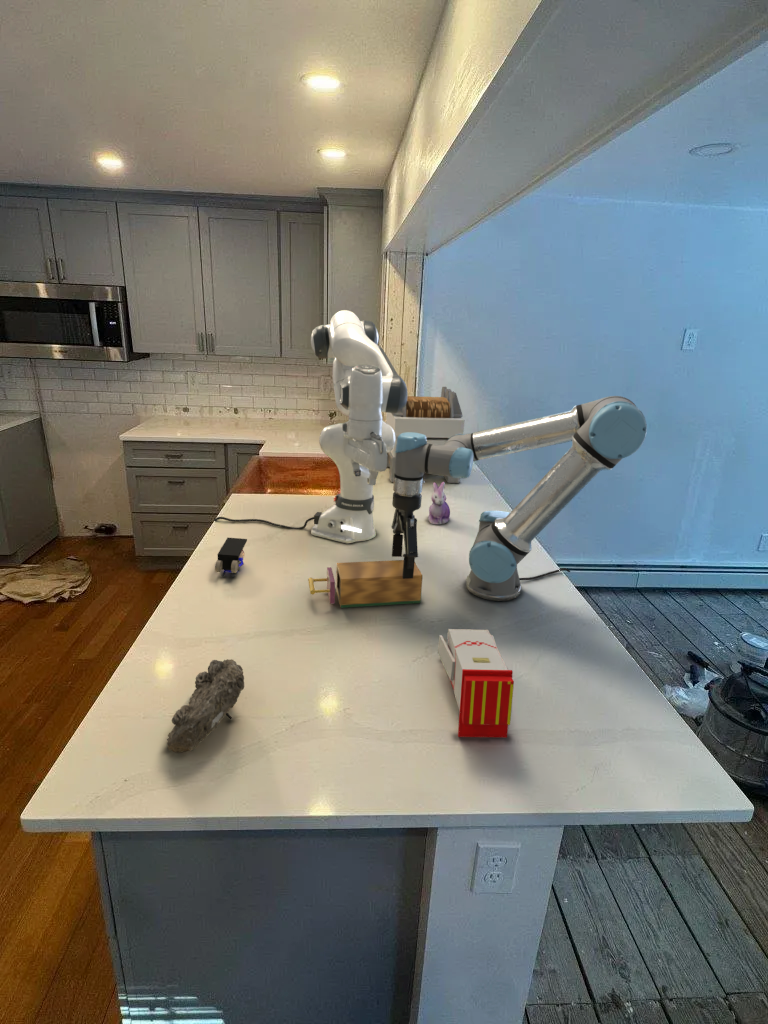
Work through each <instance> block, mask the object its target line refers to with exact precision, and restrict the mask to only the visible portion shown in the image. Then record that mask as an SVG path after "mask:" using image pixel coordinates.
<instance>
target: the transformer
mask: <svg viewBox="0 0 768 1024" xmlns="http://www.w3.org/2000/svg"><path fill="white" fill-rule="evenodd" d="M440 393H441V394H440V396H415V395H414V396H413V395H412V396H411V395H408V397H407V403H406V405H405V406H404V407H403V408H402V409H401V410H400V411H398V412H397V413H387V412H385V414H386V415H385V423H387V424H389V425H390V426H391V427H392V428H393V430H394V432H395V435H396V442H395V445H394V448H393V449H392V450H391V452H388V453H387V468H389V475H388V476H389V477H388V478H389V480H390V482H391V483H394V474H395V454H396V452H395V450H396V445H397V438H398V436H399V435H400V434H402V433H406V432H414V433H419V434H423V435H425V436H426V440H427V443H429V444H433V445H444V444H445V443H446V441H447V440H448V439H449V438H450V437H452V436H454V435H456V434H464V431H465V430H464V429H465V419H464V418H463V411H462V408H461V405H460V402H459V398H458V395H457V392H455V391H453V390H452V389H451V388H447V386H442V387H441V392H440ZM443 478H444V479H445V481H446V482H447V483H449V484H455V483H456V484H459V483H461V478H453V477H448V476H443Z"/></svg>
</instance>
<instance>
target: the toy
mask: <svg viewBox="0 0 768 1024" xmlns="http://www.w3.org/2000/svg"><path fill="white" fill-rule="evenodd" d="M446 640H447V643H446V641H445V639H444V636H443V635H442V634H439V637H438V646H437V656H438V657H439V659H440V661H441V663H442V666H443V668H444V670H445V672H446V674H447V677H448V679H449V681H450V684H451V687H452V690H453V693H454V697H455V701H456V705H457V708H458V711H459V714H458V715H459V716H458V730H457V731H458V732H457V737H458V738H508V731H509V726H510V725H511V717H512V707H513V697H514V696H513V695H514V684H515V680H514V679H513V673H514V671H513V670H512V669H508V667H507V665H506V662H505V661H504V659H503V658H502V655H501V653H500V651H499V649H498V647H497V643H496V639H495V637H494V635H493V634H491V632H490V631H489V629H467V628H466V629H465V628H463V629H461V628H460V629H459V628H448V630H447V639H446Z"/></svg>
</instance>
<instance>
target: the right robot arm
mask: <svg viewBox="0 0 768 1024" xmlns="http://www.w3.org/2000/svg"><path fill="white" fill-rule="evenodd" d="M647 427H648V426H647V420H646V417H645V415H644V413H643V412H642V410H640V408H638V406H637V405H636V404H635V403H634V402H633V401H632V400H631V399H629V398H627V397H624V396H621V395H610V396H606V397H601V398H599V399H596V400H592V401H588V402H584V403H581V404H577V405H574V406H573V408H572V409H570V410H568V411H564V412H559V413H555V414H550V415H546V416H542V417H537V418H533V419H528V420H523V421H520V422H514V423H511V424H506V425H501V426H497V427H492V428H488V429H484V430H478V431H475V432H470V433H466V434H465V433H463V434H456V435H454V436H452V437H450V438H449V439H448V440H447V441H446V443H445V444H444V445H433V444H429V443H427V440H426V436H425V435H423V434H419V433H414V432H406V433H402V434H400V435H399V436H398V438H397V445H396V450H395V452H396V454H395V474H394V482H392V483H393V484H392V490H393V493H392V501H391V503H392V504H391V505H392V507H393V508H394V509H395V510H394V513H393V519H392V523H391V529H392V533H393V535H392V548H391V557H392V558H397V557H398V558H399V557H400V558H401V557H403V560H404V563H403V576H402V578H403V579H410V578H413V573H414V561H415V559H416V558H418V557H419V553H418V530H417V528H418V527H417V525H418V519H417V518H416V517H415V514H414V512H416V511H418V510H420V509H421V508H422V497H423V496H422V493H423V485H424V484H425V483H426V481H425V480H424V474H427V475H434V476H441V477H444V476H448V477H453V478H460V479H469V477H470V476H471V474H472V471H473V465H474V462H478V461H482V460H486V459H491V458H496V457H500V456H507V455H511V454H516V453H520V452H525V451H531V450H537V449H540V448H541V449H542V448H546V447H551V446H557V445H561V444H565V443H571V442H572V443H571V444H572V445H571V447H570V448H569V449H568V450H567V451H566V452H565V453H564V454H563V455H562V456H561V458H560V459H559V460H558V461H557V462H556V463H555V464H554V465H553V466H552V467H551V468H550V469H549V471H548V472H547V473H545V475H544V476H543V477H542V478H541V479H540V480H539V481H538V482H537V483H536V484H535V486H534V487H533V488H532V489H530V491H529V492H528V493H527V494H526V495H525V496H524V497H523V499H521V500H520V502H518V504H517V505H516V506H515V507H514V508H513V509H512V510H511V511H510V512H509V511H503V510H502V511H501V510H485V511H483V512H482V513H480V516H479V519H478V523H479V525H478V532H477V534H476V537H475V539H474V542H473V544H472V546H471V548H470V550H469V553H468V563H469V564H468V565H469V567H470V572H469V574H468V575H467V576H466V578H465V581H466V584H465V585H466V589H467V590H468V591H469V592H470V593H471V594H472V595H474V596H476V597H477V598H481V599H484V600H487V601H493V602H505V601H506V602H507V601H511V600H514V599H516V598H517V597H519V596H520V594H521V590H522V589H521V588H522V585H521V581H531V580H537V579H540V578H543V577H546V576H549V575H552V574H557V573H559V572H563V571H565V572H567V573H571V570H570V569H569V568H567V567H562V568H559V570H560V571H559V570H558V569H556V570H552V571H549V572H546V573H542V574H539V575H535V576H530V577H520V576H519V570H518V564H520V563H521V561H522V560H523V559H524V558H526V556H527V555H528V554H529V553H531V551H532V548H533V547H532V541H533V540H534V539H535V538H536V537H537V536H538V535H539V534H540V533H541V532H542V531H543V530H544V529H545V528H546V527H547V526H548V525H549V524H550V523H551V522H552V521H553V520H554V519H555V518H556V517H557V516H558V515H559V514H560V513H561V512H562V511H563V510H564V509H565V508H566V507H567V506H568V505H569V503H571V502H572V500H574V499H575V498H576V496H578V495H579V493H580V492H581V491H582V490H583V489H584V488H586V487H587V485H588V484H590V482H591V481H592V480H593V479H594V478H595V477H596V476H597V475H598V474H599V473H600V472H602V471H611V470H613V469H614V467H616V466H617V464H619V463H620V462H621V461H622V459H626V458H627V457H630V456H632V455H634V454H635V453H636V452H637V451H638V450H639V449H640V448H641V447H642V445H644V442H645V440H646V437H647V431H648V429H647ZM403 543H404V544H403ZM403 545H404V553H403ZM415 562H416V561H415Z"/></svg>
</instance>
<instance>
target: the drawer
mask: <svg viewBox="0 0 768 1024" xmlns="http://www.w3.org/2000/svg"><path fill="white" fill-rule="evenodd" d="M332 568H333V567H332V566H330V567H329V566H328V567H326V577H323V578H321V577H320V578H313V577H309V578H307V581H308V587H309V593H310V595H311V596H313V595H315V594H318V593H319V594H323V593H327V595H328V600H329V604H330V605H333V604H334V605H335V604H336V592H337V591H338V595H339V599H340V588H341V580H340V576H339V573H338V569H337V568H336V577H337V591H336V581H335V576H334V572H333V569H332ZM314 582H326V588H325V589H315V583H314ZM338 595H337V596H338ZM339 599H338V600H339Z"/></svg>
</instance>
